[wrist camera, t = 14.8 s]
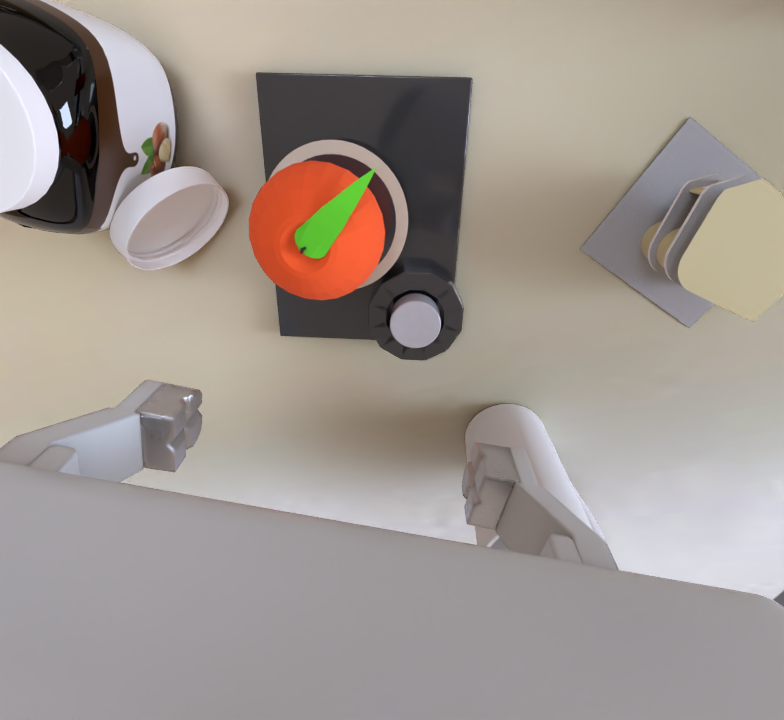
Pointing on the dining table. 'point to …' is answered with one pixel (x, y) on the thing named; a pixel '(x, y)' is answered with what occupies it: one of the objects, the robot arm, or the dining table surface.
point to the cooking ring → (380, 185)
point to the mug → (528, 433)
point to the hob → (414, 173)
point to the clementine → (317, 230)
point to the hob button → (415, 320)
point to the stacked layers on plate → (697, 232)
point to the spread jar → (96, 138)
